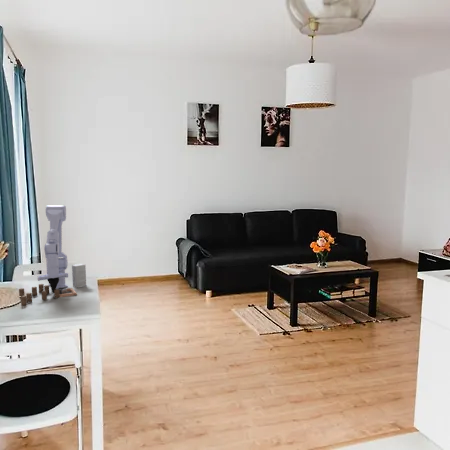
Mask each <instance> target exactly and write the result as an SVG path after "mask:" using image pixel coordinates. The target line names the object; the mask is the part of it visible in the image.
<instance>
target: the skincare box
mask: <svg viewBox="0 0 450 450" xmlns="http://www.w3.org/2000/svg"><path fill="white" fill-rule="evenodd" d="M86 269H87V267H86V264H84V263H76V264H72V265H71V270H72V272H71V273H72V274H71V275H72V277H71V278H72V286H73V287H74V288H75V289H77V287H78V288H81V286H82V287H86V286H87V273H86Z"/></svg>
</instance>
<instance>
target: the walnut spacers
mask: <svg viewBox="0 0 450 450" xmlns="http://www.w3.org/2000/svg"><path fill="white" fill-rule="evenodd" d="M38 293H39V294H40V293H41V300H42V301H47V300H48V295H49V294H50V285H49V284H46V285H44V283H40V284H38V287H37V286H32V287H31V292H27V293H26V294H25V288H23V287H20V288H19V289H18V297H19V296H21V297H20V305H21V306H26V305H27V304H28V303H32V301H33V296H37V295H38ZM53 294H54V299H59V298H61V297H60V294H59V289H55V290H54V293H53Z"/></svg>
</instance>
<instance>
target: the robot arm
mask: <svg viewBox="0 0 450 450" xmlns="http://www.w3.org/2000/svg"><path fill="white" fill-rule="evenodd" d="M45 217H46V218H47V221H49V230H48V231H47V234H46V243H45V244H44V246H43V247H44V254H45V255H44V258H45V260H46V261H45V262H46V274H43V275H38V276H37V281H44V280H45V281H46V280H47V282H48V285H49V287H50V288H51V293H52V294H54V290H55V289H56V288H59V287H65V288H67V287H68V284H66V279H67V278H69V273H68V272H66V270H67V269H68V256H67V254H65V253H64V252H63V249H62V248H63V247H62V245H63V241H62V240H63V238H62V235H63V234H62V233H63V231H62V229H63V228H62V227H63V226H62V225H63V222H65V221H66V220H67V206H66V205H65V204H63V205H58V204H57V205H53V204H52V205H51V204H50V205H48V204H47V205H46V206H45ZM68 288H69V287H68Z"/></svg>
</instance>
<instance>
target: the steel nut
mask: <svg viewBox="0 0 450 450" xmlns="http://www.w3.org/2000/svg"><path fill="white" fill-rule="evenodd" d="M56 289H59V294H66V293H68V291H67V287H59V288H56Z"/></svg>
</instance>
